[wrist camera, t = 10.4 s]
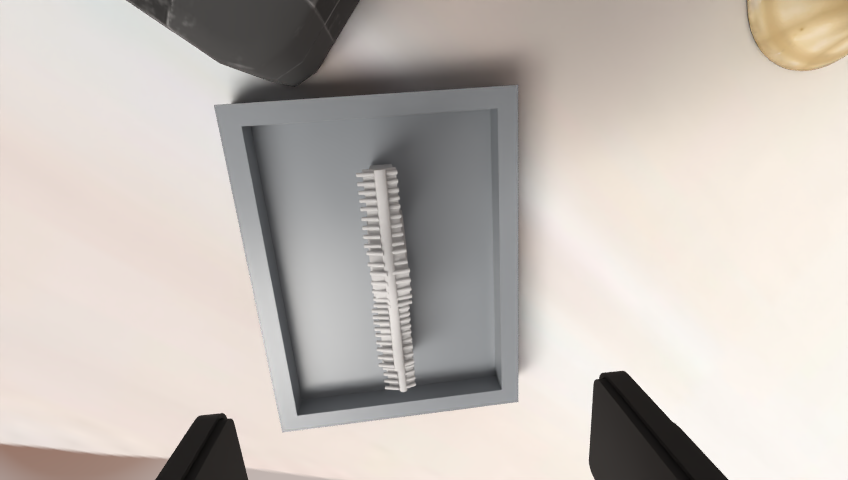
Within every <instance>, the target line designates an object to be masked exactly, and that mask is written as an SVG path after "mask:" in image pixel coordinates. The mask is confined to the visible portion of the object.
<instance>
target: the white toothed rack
mask: <svg viewBox="0 0 848 480" xmlns="http://www.w3.org/2000/svg"><path fill="white" fill-rule="evenodd" d="M397 173H398V172H397V170H396V167H392V164H383V165H370V167H369V169H366V170H362V173H356V177H363V182H358V183H357V186H364V191H358V194H359V195H365V199H360V200H359V202H360V203H366V207H361V208H360V210H361V211H367V217H362V218H361V220H362V221H367V226H363V227H362V229H363V230H367V233H368V235H363V238H364V239H368V244H364V248H369V251H367V253H366V254H367V255H369V259H370V262H368V266H369V267H370V268H371V271H370V275H371V277H372V281H371V284H372V285H373V290H372V293H374V297H373V300H374V301H376V303H374V307H377V309H372V313H378V315H373V319H379V321H374V324H377V325H380V327H375V331H381V333H376V334H375V336H376V337H381V339H382V341H379V340H377V341H376V344H380V346H382V348H380V347H378V348H377V351H381V352H383V355H378V359H384V360H382V363H379V367H383V370H387V372H384V376H388V378H389V379H385V380H384V382H387V383H389V384H390V386H385V389H391V390H400V391H401V392H406V391H407V388H410V387H413V386H416V383H415V381H414V379H415V376H414V375H415V374H414V372H415V370H414V358H413V355H414V354H413V351H412V349H413V345H412V337H411V333H412V332H411V329H410V327H411V324H410V323H409V321H411V319H410V317H409V315H410V312H409V311H408V309H410V307H409V305H408V304H412V300H409V298H412V294H410V291H411V290H412V289H411V286H410V282H411V279H410V277H409V272H410V268H408V260H407V250H406V240H405V231H404V222H403V215H402V210H401V209H400V210H399V208H400V204H399V202H398V200H400V197H399V196H398V192H399V188H397V183H398V179H397V178H396V174H397Z"/></svg>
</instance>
